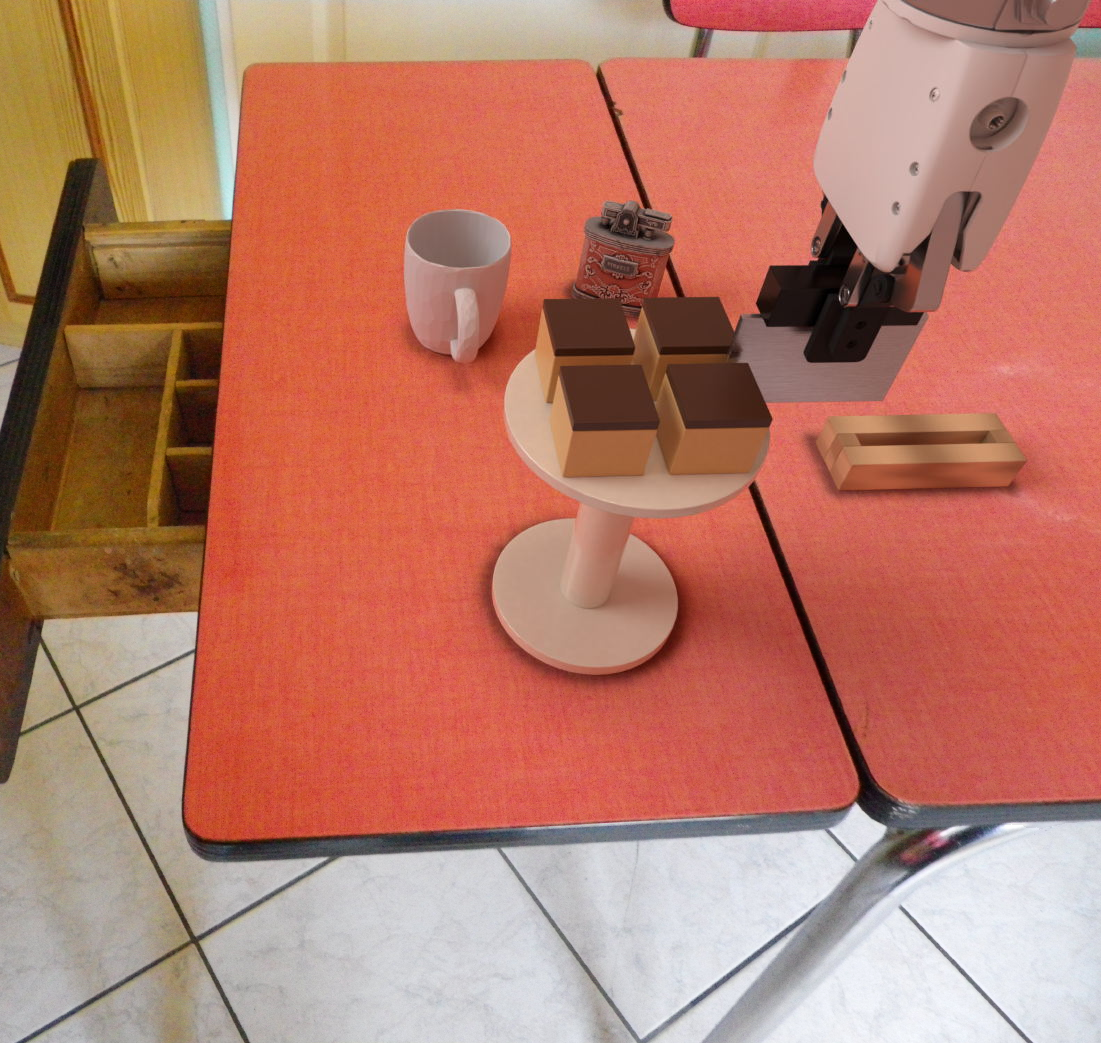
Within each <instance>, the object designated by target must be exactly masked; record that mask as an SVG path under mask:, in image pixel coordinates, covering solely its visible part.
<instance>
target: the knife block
mask: <svg viewBox="0 0 1101 1043" xmlns="http://www.w3.org/2000/svg"><path fill="white" fill-rule="evenodd" d="M815 445H816V446H817V449H818V451H819V453H820V455H821V457H822V460H823V461H824V463H825V466H826V467H827V470H828V472H829V474H830V476H831V479H832V481H833V482H834V484H835V486H836V489H837V491H870V490H872V491H873V490H909V489H910V490H911V489H914V490H916V489H917V490H918V489H946V488H947V489H953V488H958V489H959V488H991V487H992V488H995V487H996V488H997V487H998V488H999V487H1009V486H1010V484H1011V483H1012V481H1014V479H1015V478H1016V476H1017V475H1018V474H1019V472H1020V471H1021V470H1022V469H1023V467H1024V466H1025V464H1026V463H1027V462H1028V460H1027V458H1026V456H1025V454H1024V453H1023V452H1022V450H1021V449H1020V447H1019V445H1018V443H1016V441H1015V440H1014V438H1013V436H1012V434H1010V432H1009V430H1008V429H1007V427H1006V426H1005V425H1004V422H1002V420H1001V418H1000V417H999V416H998V414H997V413H996V412H984V413H983V412H980V413H978V412H977V413H974V412H973V413H936V414H935V413H933V414H931V413H930V414H929V413H928V414H925V413H923V414H884V415H883V414H880V415H879V414H877V415H876V414H875V415H873V414H872V415H830V416H828V417H827V418H826V421H825V422H824V424H823V427H822V429H821V431H820V433H819V434H818V436H817V438H816V441H815Z"/></svg>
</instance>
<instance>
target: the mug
mask: <svg viewBox="0 0 1101 1043" xmlns="http://www.w3.org/2000/svg"><path fill="white" fill-rule="evenodd" d="M512 244H513V242H512V236H511V234H510V231H509V229H508V228H507V227H506V225H505V224H504V223H503V222H501V221H500V220H499V219H498V218H495V217H493V216H491V215H488V214H486V213H484V212H480V211H475V210H470V209H462V208H452V209H451V208H450V209H449V208H448V209H437V210H434V211H430V212H427V213H424V214H422V215H420V216H419V217H417V218H416V219H415V220H414V221H412V223H411V224H410V226H409V227H408V229H407V232H406V236H405V245H404V257H403V258H404V260H403V262H404V265H403V281H404V294H405V304H406V309H407V310H406V311H407V314H408V317H409V323H410V326H411V329H412V332H413V333H414V335H415V338H416V339H417V340H418V341H419V344H421V345H422V346H423V347H424V348H426V349H428V350H430V351H431V352H435V353H437V354H442V355H449V356H450V355H451V357H452V359H453V360H454V361H455V362H456V363H458V364H467V363H472V362H474V360H475V359H476V358H477V355H478V353H479V349H480V348H481V347H483V346H484V344H485V343H486V341H487V340H488V339H489V338H490V337H491V335H492V332H493V331H494V329H495V326H496V324H497V321H498V319H499V317H500V313H501V309H502V307H503V303H504V300H505V295H506V292H507V287H508V280H509V273H510V267H511V260H512Z"/></svg>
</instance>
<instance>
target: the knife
mask: <svg viewBox="0 0 1101 1043" xmlns="http://www.w3.org/2000/svg"><path fill="white" fill-rule="evenodd" d="M849 266H850V265H808V264H795V265H793V264H785V265H784V264H782V265H780V264H778V265H777V264H776V265H773V264H772V265H769V267H768V270H767V272H766V274H765V278H764V279H763V283H762V285H761V288H760V290H759V293H758V296H757V299H756V302H755V305H756V308H757V309H758V312H759V313H740V315H739V318H738V321H737V324H736V326H735V329H734V334H733V337H732V340H731V343H730V345H729V348H728V351H727V354H726V356H725V359H724V362H723V363H748V364H749V366H750V368H751V371H752V373H753V375H754V377H755V380H756V382H757V384H758V387H759V389H760V391H761V393H762V396H763V398H764V400H765V402H766V404H784V403H786V404H787V403H788V404H789V403H790V404H791V403H796V404H797V403H850V402H852V403H856V402H857V403H859V402H863V403H864V402H884V400H885V398H886V396H888V393H889V391H890V389H891V387H892V386H893V384H894V382H895V380H896V378H897V377H898V374H899V373H900V371H901V369H902V368H903V366H904V363H905V362H906V360H907V358H908V356H909V355H910V353H911V351H912V349H913V347H914V345H915V343H916V342H917V340H918V338H919V336H920V334H921V332H922V331H923V329H924V327H925V325H926V324H927V322H928V320H929V318H930V314H928V312H905V311H903V310H901V309H898V308H896V307H891V309H890V311H889V313H888V315H887V317H886V319H885V321H884V323H883V325H882V327H881V329H880V331H879V333H878V334H877V336H876V338H875V340H874V342H873V344H872V346H871V348H870V350H869V352H868V354H867V356H866V358H865V359H864V360H862V361H860V362H846V363H809V362H807V360H806V358H805V356H804V354H803V352H804V349H805V347H806V345H807V342H808V340H809V338H810V335H811V333H812V331H813V329H814V326H815V324H816V322H817V319H818V317H819V315H820V313H821V310H822V308H823V306H824V304H825V301H826V299H827V297H828V294H839V289H840V287H841V284H842V282H843V280H844V278H845V275H846V273H847V271H848V268H849ZM890 273H891V272H883V271H881V270H879V269H878V268H876V267H875V269H874V271H873V273H872V275H871V277H873V276H876V275H879V274H890Z"/></svg>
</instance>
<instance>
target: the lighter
mask: <svg viewBox="0 0 1101 1043" xmlns="http://www.w3.org/2000/svg"><path fill="white" fill-rule="evenodd" d="M672 222H673V216H672V214H671V213H668V212H665V211H660V210H656V209H651V208H648V207H647V208H643V207H641V206H640V204H639V202H637V201H636V200H627V201H626V202H625V203H621V202H616V201H613V200H605V201H603V203H602V206H601V212H600V216H591V217H589V218H588V219H587V220H586V221H585V224H584V228H583V234H584V239H583V245H582V249H581V253H580V254H581V255H580V259H579V265H578V271H577V274H576V275H577V276H576V280H575V281H574V282H573V287H572V291H571V295H572V296H573V298H574V299H588V298H619V299H620V301H621V305H622V308H623V311H624V314H625V316H631V317H637V318H639V316H640V313H641V309H642V304H643V300H644V298H655V297H658V296H659V294H660V289H661V285H662V282H663V278H664V274H665V271H666V268H667V265H668V264H667V263H668V260H669V257H670V254H671V253H672V252H673V249H674V246H675V242H676V241H675V238H674V236H673V235H671V234H670V233H668V232H669V231H670V230H671V226H672Z"/></svg>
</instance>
